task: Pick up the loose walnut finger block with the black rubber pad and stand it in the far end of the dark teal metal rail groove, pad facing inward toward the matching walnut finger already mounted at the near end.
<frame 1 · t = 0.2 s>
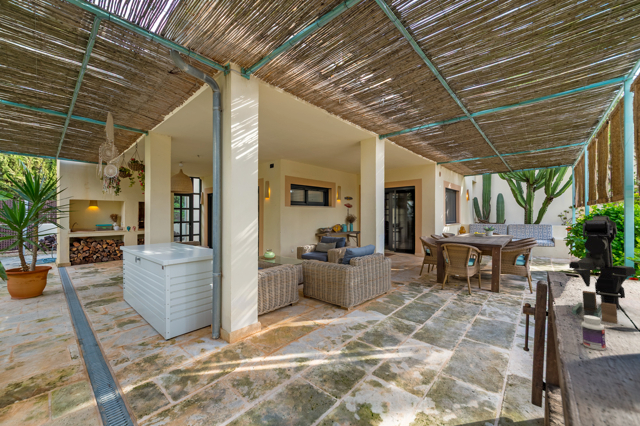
hand: (601, 289, 107), 14 cm above the table, tool pointing down, fingers open, 9 cm apart
rail: (588, 314, 118), on the table
mounted finger: (590, 309, 121), resting on rail
pill bottle: (594, 347, 88), on the table
finger block: (610, 324, 106), on the table
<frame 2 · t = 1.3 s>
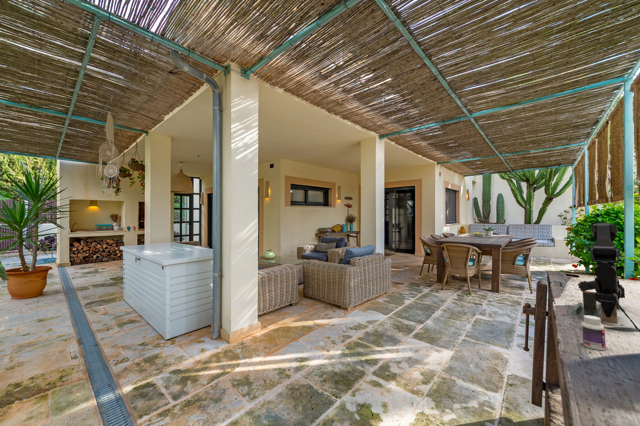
hand: (609, 314, 107), 4 cm above the table, tool pointing down, fingers open, 9 cm apart
nothing on the table moved.
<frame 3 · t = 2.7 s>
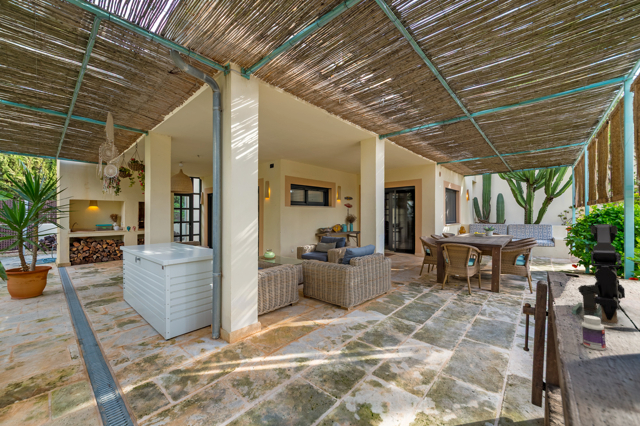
hand: (609, 318, 107), 2 cm above the table, tool pointing down, fingers closed on finger block, 3 cm apart
finger block: (610, 324, 106), on the table, touching gripper
everything else where it was.
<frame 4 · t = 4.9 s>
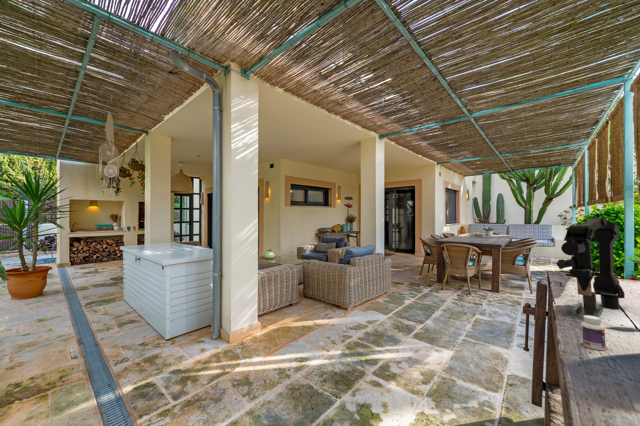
hand: (584, 289, 114), 12 cm above the table, tool pointing down, fingers closed on finger block, 3 cm apart
finger block: (585, 294, 114), point 10 cm above the table, touching gripper
everything else where it was.
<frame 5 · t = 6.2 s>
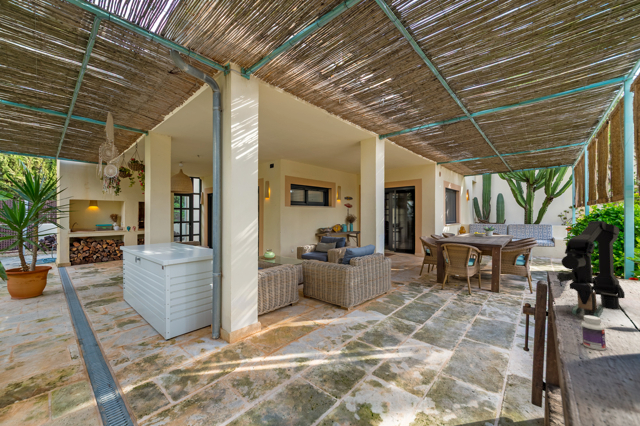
hand: (585, 303, 114), 6 cm above the table, tool pointing down, fingers closed on finger block, 3 cm apart
finger block: (585, 308, 114), point 4 cm above the table, touching gripper
everything else where it was.
when the fingers open (4 cm above the table, at t = 7.4 s): finger block stays where it is, resting on rail.
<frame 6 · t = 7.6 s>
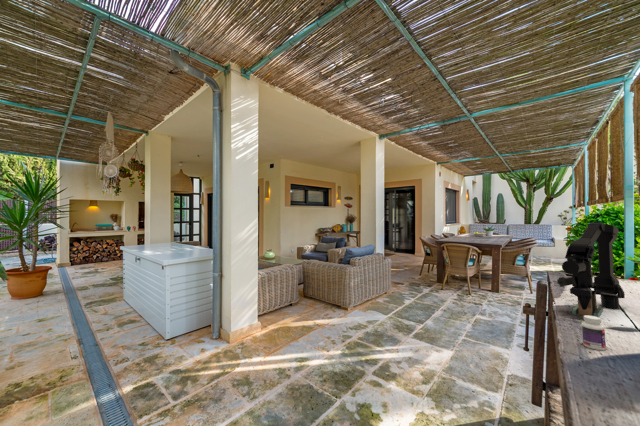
hand: (585, 308, 114), 4 cm above the table, tool pointing down, fingers open, 5 cm apart
finger block: (585, 315, 114), point 1 cm above the table, touching rail
everything else where it was.
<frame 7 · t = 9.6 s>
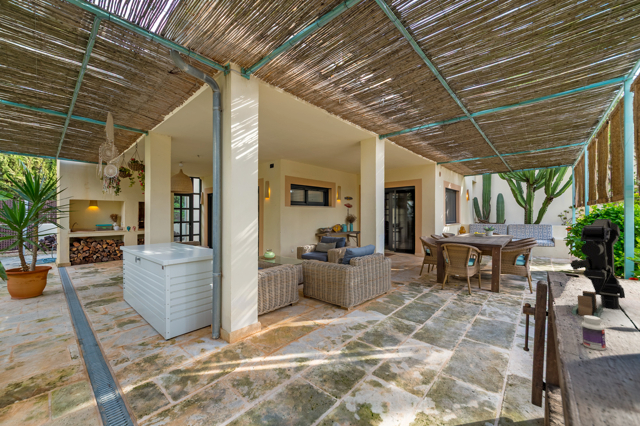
hand: (599, 290, 113), 12 cm above the table, tool pointing down, fingers open, 9 cm apart
nothing on the table moved.
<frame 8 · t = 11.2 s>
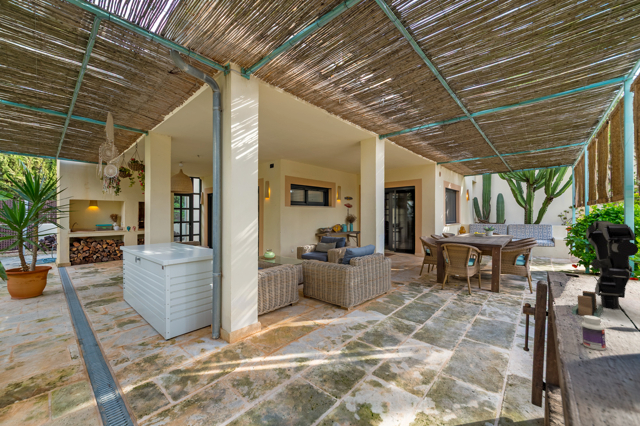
hand: (621, 290, 111), 12 cm above the table, tool pointing down, fingers open, 9 cm apart
nothing on the table moved.
at the end: finger block 0.0 cm from the target spot on the rail, point 1.0 cm above the rail's base; finger block tilted 0°; the gripper is holding nothing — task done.
